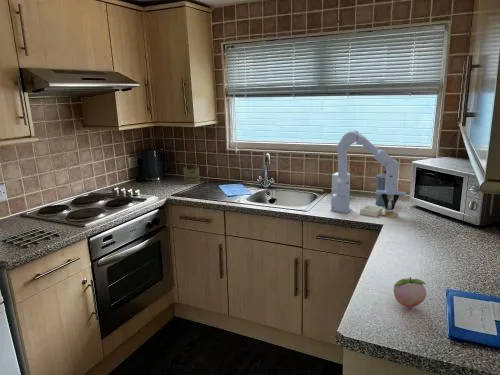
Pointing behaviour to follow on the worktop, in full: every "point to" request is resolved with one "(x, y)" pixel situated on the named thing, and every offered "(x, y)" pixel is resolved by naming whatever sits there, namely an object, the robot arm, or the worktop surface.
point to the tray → (371, 210)
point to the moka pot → (381, 188)
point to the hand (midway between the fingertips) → (389, 208)
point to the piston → (191, 176)
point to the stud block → (389, 214)
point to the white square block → (334, 182)
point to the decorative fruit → (409, 292)
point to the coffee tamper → (389, 206)
